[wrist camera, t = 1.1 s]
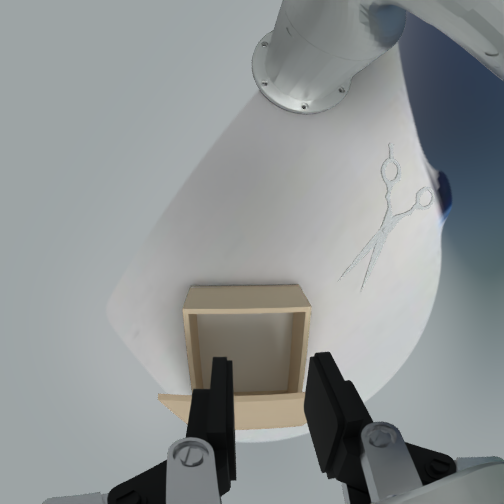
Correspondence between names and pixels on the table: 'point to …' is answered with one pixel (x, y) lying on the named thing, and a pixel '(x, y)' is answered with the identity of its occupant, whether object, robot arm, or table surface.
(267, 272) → the table surface
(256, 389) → the box
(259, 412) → the lid
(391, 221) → the scissors
